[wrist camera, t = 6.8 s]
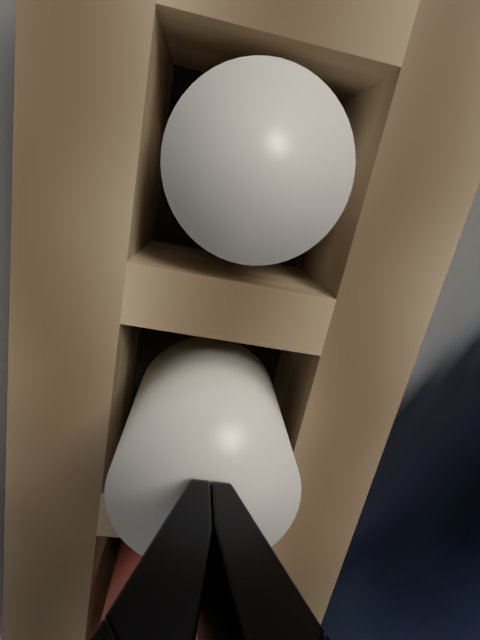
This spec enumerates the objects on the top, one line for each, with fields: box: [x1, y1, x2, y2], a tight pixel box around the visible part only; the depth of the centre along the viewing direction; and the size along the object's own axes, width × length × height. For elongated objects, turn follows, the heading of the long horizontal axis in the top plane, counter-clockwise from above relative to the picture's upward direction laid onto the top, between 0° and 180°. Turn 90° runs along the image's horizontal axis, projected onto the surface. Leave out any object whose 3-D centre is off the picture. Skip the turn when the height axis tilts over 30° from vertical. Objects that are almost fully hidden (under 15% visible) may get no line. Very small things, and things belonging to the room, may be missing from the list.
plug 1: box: [160, 55, 356, 266], centre depth 10 cm, size 4×4×4 cm
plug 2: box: [104, 337, 301, 556], centre depth 10 cm, size 4×4×4 cm
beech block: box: [2, 0, 480, 640], centre depth 12 cm, size 10×22×4 cm, turn 169°
